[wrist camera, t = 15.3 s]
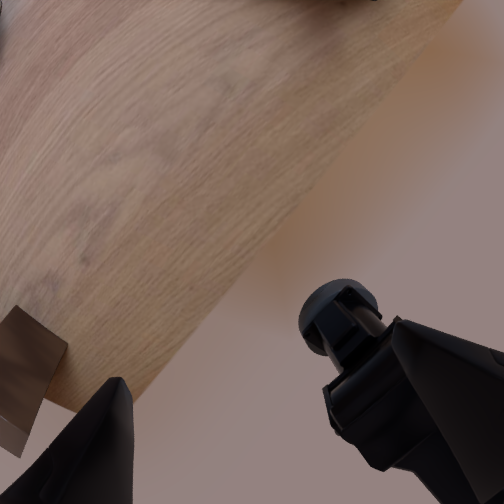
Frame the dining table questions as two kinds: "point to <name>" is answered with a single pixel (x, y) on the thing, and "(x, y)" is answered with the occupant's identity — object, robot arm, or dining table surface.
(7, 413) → the brown rectangular block
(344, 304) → the robot arm
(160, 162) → the dining table surface
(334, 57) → the dining table surface
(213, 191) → the dining table surface
